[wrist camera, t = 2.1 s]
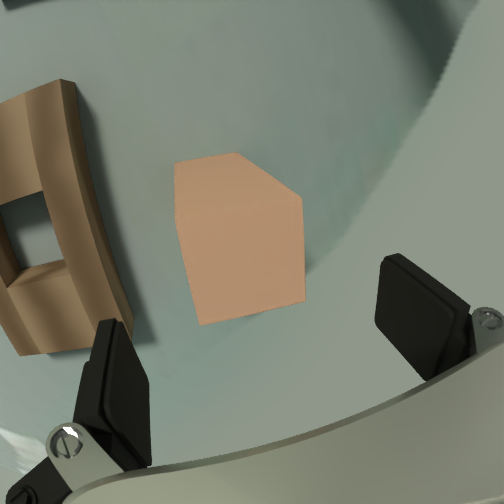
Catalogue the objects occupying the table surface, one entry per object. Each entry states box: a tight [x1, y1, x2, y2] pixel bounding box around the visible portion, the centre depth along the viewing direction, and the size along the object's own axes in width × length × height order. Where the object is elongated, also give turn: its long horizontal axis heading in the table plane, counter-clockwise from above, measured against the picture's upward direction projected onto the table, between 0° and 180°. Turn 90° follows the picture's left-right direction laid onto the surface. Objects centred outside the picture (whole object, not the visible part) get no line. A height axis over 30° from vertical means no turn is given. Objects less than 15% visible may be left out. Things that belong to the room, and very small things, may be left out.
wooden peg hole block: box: [0, 79, 134, 356], centre depth 21 cm, size 13×22×4 cm, turn 6°
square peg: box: [175, 152, 306, 325], centre depth 19 cm, size 5×5×14 cm
